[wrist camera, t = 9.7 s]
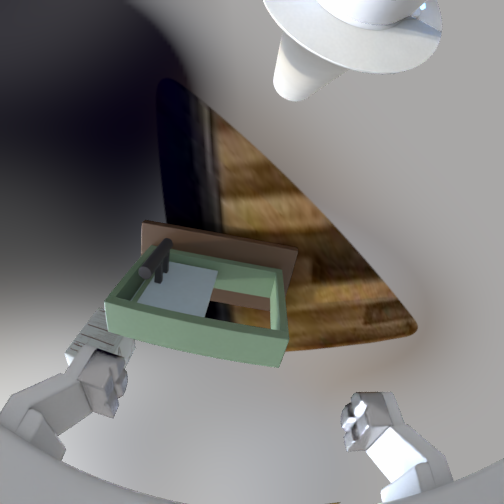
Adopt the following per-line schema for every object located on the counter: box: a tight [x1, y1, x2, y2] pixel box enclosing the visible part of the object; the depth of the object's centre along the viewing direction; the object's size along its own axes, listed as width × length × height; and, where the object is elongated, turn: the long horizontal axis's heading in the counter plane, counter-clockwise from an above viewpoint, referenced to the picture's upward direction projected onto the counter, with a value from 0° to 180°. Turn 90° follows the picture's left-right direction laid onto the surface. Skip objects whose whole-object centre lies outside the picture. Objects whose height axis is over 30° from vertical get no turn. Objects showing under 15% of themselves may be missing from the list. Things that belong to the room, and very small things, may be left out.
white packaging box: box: [65, 308, 135, 369], centre depth 40 cm, size 7×7×13 cm
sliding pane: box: [132, 238, 218, 317], centre depth 31 cm, size 5×8×11 cm, turn 79°
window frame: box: [104, 220, 298, 368], centre depth 33 cm, size 10×21×15 cm, turn 79°
